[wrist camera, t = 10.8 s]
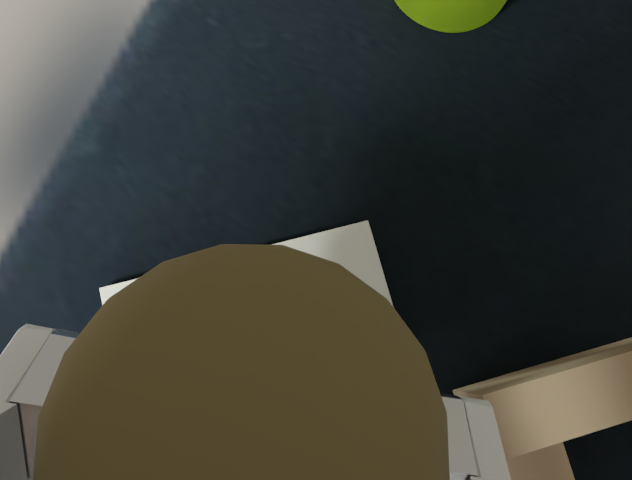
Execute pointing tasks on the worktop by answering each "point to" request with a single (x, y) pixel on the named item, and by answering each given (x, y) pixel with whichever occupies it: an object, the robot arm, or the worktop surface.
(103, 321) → the brown pawn
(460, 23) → the soap dispenser
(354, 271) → the white mat
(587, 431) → the sleeve block
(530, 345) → the worktop surface
